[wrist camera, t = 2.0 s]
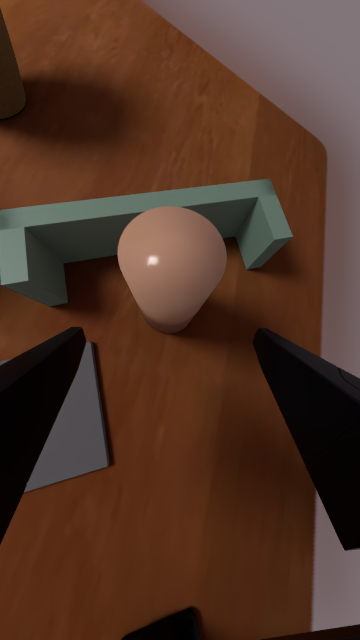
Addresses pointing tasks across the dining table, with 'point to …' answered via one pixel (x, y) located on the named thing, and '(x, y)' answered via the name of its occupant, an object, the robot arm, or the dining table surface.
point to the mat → (74, 431)
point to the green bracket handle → (113, 217)
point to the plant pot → (9, 77)
